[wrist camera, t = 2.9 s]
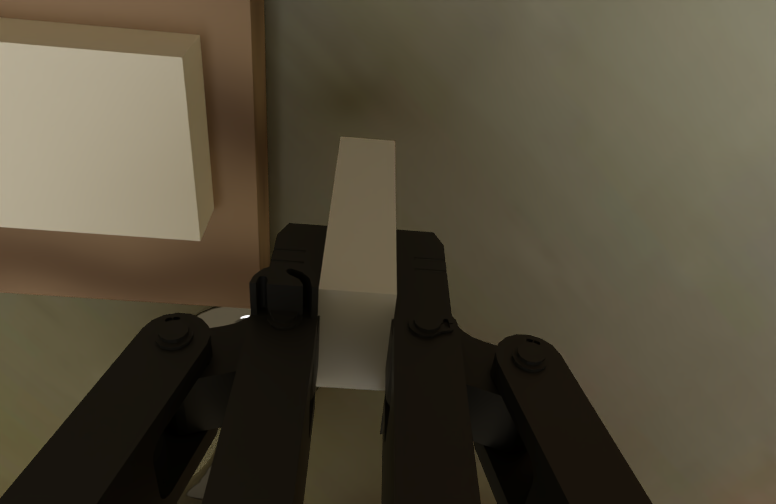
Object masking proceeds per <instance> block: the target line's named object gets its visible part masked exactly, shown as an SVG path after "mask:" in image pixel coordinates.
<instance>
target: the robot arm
mask: <svg viewBox="0 0 776 504" xmlns="http://www.w3.org/2000/svg"><path fill="white" fill-rule="evenodd" d="M249 289H250V309H251V315H250V316H248V317H247V318H245V319H243V320H241V321H239V322H237V323H233V324H229V325H225V326H219V327H213V328H209V326H208V325H207V324H206V322H205V321H204V320H203V319H202V318H199V317H197V316H195V315H192V314H185V313H174V314H168V315H163V316H161V317H159V318H156V319H154V320H152V321H151V322H149V323H148V324H147V325H146V326H145V327H143V328H142V329H141V331H140V332H139V333H138V334H137V335H136V337H135V338H134V339H133V340H132V341H131V343H130V344H129V345H128V346H127V347H126V348H125V350H124V351H123V352H122V353H121V354H120V356H119V357H118V358H117V359H116V360H115V362H114V363H113V364H112V365H111V366H110V368H109V369H108V370H107V371H106V372H105V374H104V375H103V376H102V377H101V378H100V380H99V381H98V382H97V383H96V384H95V386H94V387H93V388H92V389H91V390H90V392H89V393H88V394H87V395H86V396H85V398H84V399H83V400H82V401H81V402H80V404H79V405H78V406H77V407H76V408H75V409H74V411H73V412H72V413H71V414H70V415H69V417H68V418H67V419H66V420H65V421H64V423H63V424H62V425H61V426H60V427H59V429H58V430H57V431H56V432H55V433H54V435H53V436H52V437H51V438H50V439H49V441H48V442H47V443H46V444H45V445H44V447H43V448H42V449H41V450H40V451H39V453H38V454H37V455H36V456H35V457H34V459H33V460H32V461H31V462H30V463H29V465H28V466H27V467H26V468H25V469H24V470H23V472H22V473H21V474H20V475H19V476H18V478H17V479H16V480H15V481H14V482H13V484H12V485H11V486H10V487H9V488H8V490H7V491H6V492H5V493H4V494H3V496H2V497H1V498H0V504H177V502H178V500H179V498H180V497H181V495H182V493H183V491H184V490H185V488H186V486H187V485H188V483H189V481H190V479H191V478H192V476H193V474H194V472H195V471H196V469H197V467H198V465H199V464H200V462H201V460H202V458H203V457H204V455H205V453H206V452H207V450H208V448H209V446H210V445H211V443H212V441H213V439H214V438H215V436H216V434H217V431H218V428H220V427H222V428H221V431H220V435H219V439H218V443H217V447H216V451H215V454H214V458H213V462H212V466H211V470H210V474H209V477H208V481H207V485H206V489H205V493H204V497H203V500H202V504H303V501H304V493H305V484H306V476H307V467H308V459H309V451H310V442H311V434H312V425H313V417H314V409H315V388H316V387H332V388H347V389H363V390H379V391H385V399H384V407H383V415H382V423H381V431H380V434H383V447H382V504H481V503H480V495H479V486H478V478H477V470H476V462H475V454H474V447H475V450H476V452H477V455H478V457H479V460H480V462H481V465H482V467H483V470H484V472H485V475H486V477H487V479H488V482H489V484H490V487H491V489H492V492H493V494H494V497H495V499H496V502H497V504H652V502H651V501H650V499H649V497H648V496H647V494H646V493H645V491H644V489H643V488H642V486H641V484H640V483H639V481H638V480H637V478H636V476H635V475H634V473H633V471H632V470H631V468H630V467H629V465H628V463H627V462H626V460H625V458H624V457H623V455H622V454H621V452H620V450H619V449H618V447H617V445H616V444H615V442H614V441H613V439H612V437H611V436H610V434H609V432H608V431H607V429H606V428H605V426H604V424H603V423H602V421H601V419H600V418H599V416H598V415H597V413H596V411H595V410H594V408H593V407H592V405H591V403H590V402H589V400H588V398H587V397H586V395H585V394H584V392H583V390H582V389H581V387H580V385H579V384H578V382H577V381H576V379H575V377H574V376H573V374H572V372H571V371H570V369H569V368H568V366H567V364H566V363H565V361H564V359H563V358H562V356H561V355H560V353H559V352H558V351H557V350H556V349H555V348H554V347H553V346H552V345H551V344H549V343H547V342H546V341H544V340H543V339H540V338H537V337H534V336H531V335H517V334H516V335H513V336H509V337H506V338H504V339H503V340H502V341H501V342H500V343H498V346H496V345H493V344H490V343H487V342H483V341H481V340H478V339H476V338H473V337H471V336H470V335H468V334H466V333H465V332H463V331H462V330H461V329H460V328H459V327H458V324H457V322H456V320H455V319H454V318H453V317H452V314H451V306H450V298H449V289H448V280H447V273H446V263H445V254H444V245H443V244H442V243H441V242H440V240H439V239H438V238H437V236H436V235H435V234H434V233H433V232H420V231H406V230H396V179H395V141H391V140H379V139H367V138H355V137H342V136H341V137H340V144H339V151H338V158H337V165H336V172H335V179H334V186H333V192H332V199H331V206H330V213H329V220H328V226H321V225H308V224H295V223H289V224H288V225H287V226H286V227H285V228H284V229H283V230H282V231H281V232H280V233H279V234H278V235H277V238H276V242H275V246H274V251H273V254H272V258H271V262H270V266H269V267H267V268H263V269H262V270H260V271H259V272H257V273H256V274H254V276H253V277H252V279H251V281H250V282H249ZM473 441H474V446H473Z"/></svg>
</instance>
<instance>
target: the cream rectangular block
mask: <svg viewBox="0 0 776 504" xmlns="http://www.w3.org/2000/svg"><path fill="white" fill-rule="evenodd" d="M213 210H214V201H213V189H212V176H211V164H210V152H209V140H208V128H207V116H206V103H205V91H204V79H203V67H202V55H201V43H200V35H195V34H184V33H173V32H161V31H150V30H138V29H127V28H115V27H104V26H92V25H81V24H70V23H58V22H47V21H35V20H24V19H12V18H1V17H0V227H7V228H21V229H35V230H49V231H64V232H78V233H92V234H106V235H120V236H135V237H149V238H163V239H177V240H191V241H201V239H202V236H203V234H204V232H205V229H206V227H207V224H208V222H209V220H210V217H211V215H212V212H213Z"/></svg>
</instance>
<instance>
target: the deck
mask: <svg viewBox="0 0 776 504" xmlns="http://www.w3.org/2000/svg"><path fill="white" fill-rule="evenodd" d="M0 17H1V18H12V19H24V20H35V21H47V22H58V23H70V24H81V25H92V26H104V27H115V28H127V29H138V30H150V31H161V32H173V33H184V34H195V35H200V43H201V55H202V67H203V79H204V91H205V103H206V116H207V128H208V140H209V152H210V164H211V176H212V189H213V201H214V210H213V212H212V215H211V217H210V220H209V222H208V224H207V227H206V229H205V232H204V234H203V236H202V239H201V241H191V240H177V239H163V238H149V237H135V236H120V235H106V234H92V233H78V232H64V231H49V230H35V229H21V228H7V227H0V292H3V293H18V294H33V295H49V296H64V297H79V298H95V299H110V300H125V301H141V302H156V303H171V304H187V305H202V306H217V307H233V308H248V309H250V289H249V282H250V281H251V279H252V277H253V276H254V274H256V273H257V272H259V271H260V270H262V269H263V268H267V267H269V266H270V228H269V185H268V143H267V100H266V58H265V15H264V0H0Z"/></svg>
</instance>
